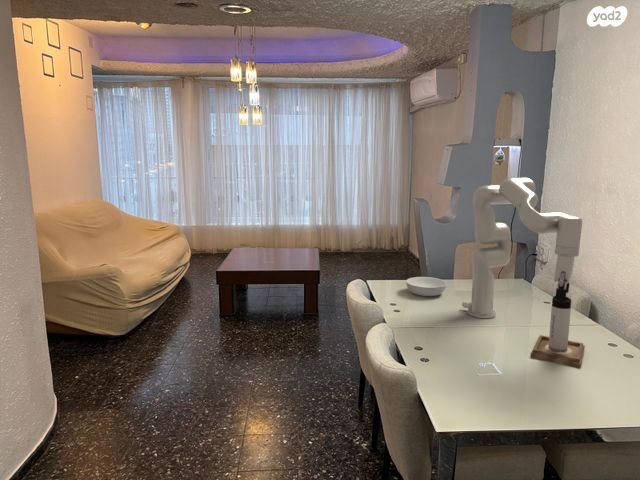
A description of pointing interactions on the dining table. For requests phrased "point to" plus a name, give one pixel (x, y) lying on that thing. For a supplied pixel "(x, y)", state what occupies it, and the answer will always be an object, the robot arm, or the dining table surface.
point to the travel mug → (559, 324)
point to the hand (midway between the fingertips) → (561, 295)
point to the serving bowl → (426, 286)
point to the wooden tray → (568, 357)
